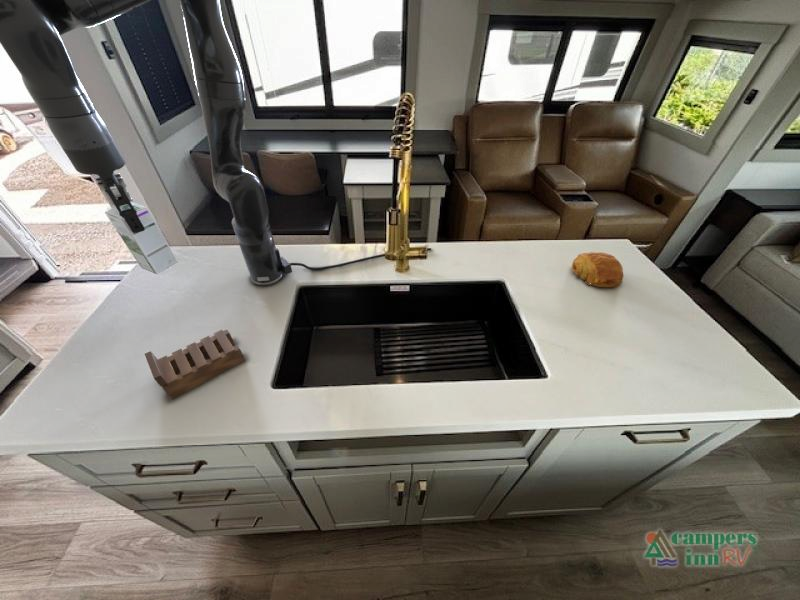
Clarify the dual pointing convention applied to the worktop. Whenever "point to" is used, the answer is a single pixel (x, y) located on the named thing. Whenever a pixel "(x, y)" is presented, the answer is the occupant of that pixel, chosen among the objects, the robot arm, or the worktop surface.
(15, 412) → the worktop surface
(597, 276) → the croissant
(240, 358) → the rack
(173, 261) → the syrup box
